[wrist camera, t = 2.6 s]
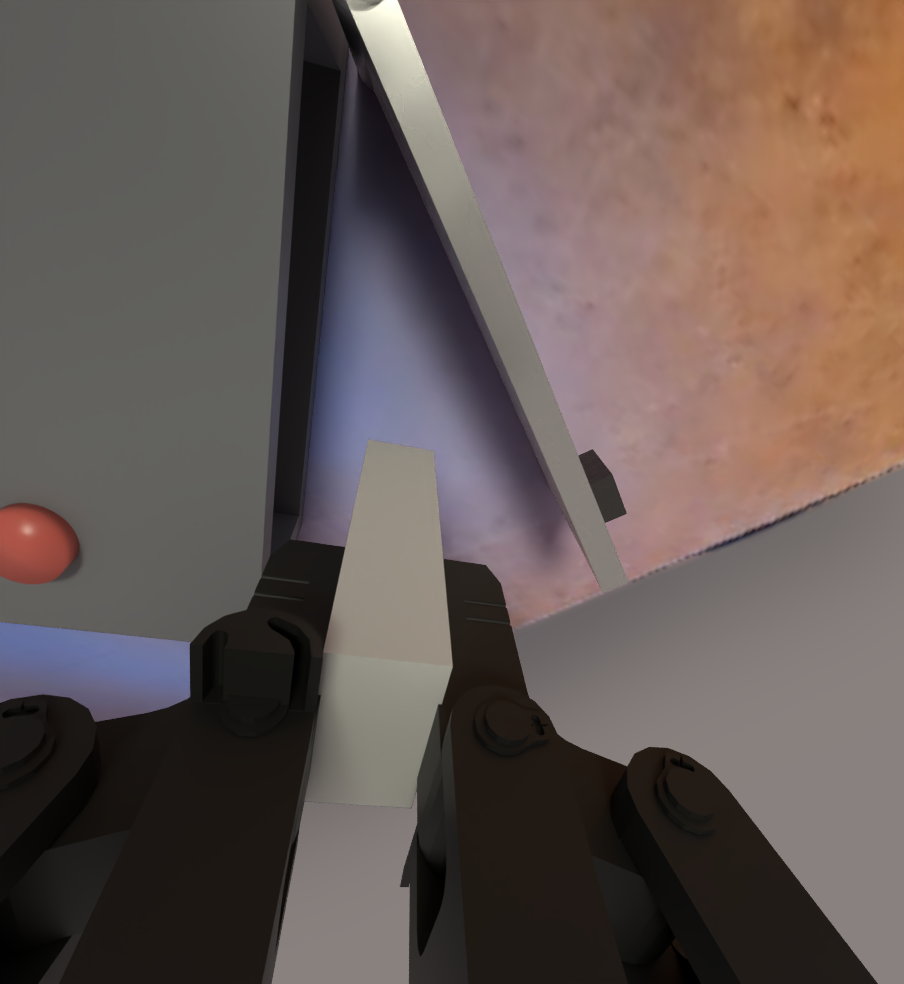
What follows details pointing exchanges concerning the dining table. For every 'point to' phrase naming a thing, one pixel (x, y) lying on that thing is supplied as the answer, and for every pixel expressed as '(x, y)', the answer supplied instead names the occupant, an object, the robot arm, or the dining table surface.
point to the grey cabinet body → (159, 300)
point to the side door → (481, 272)
